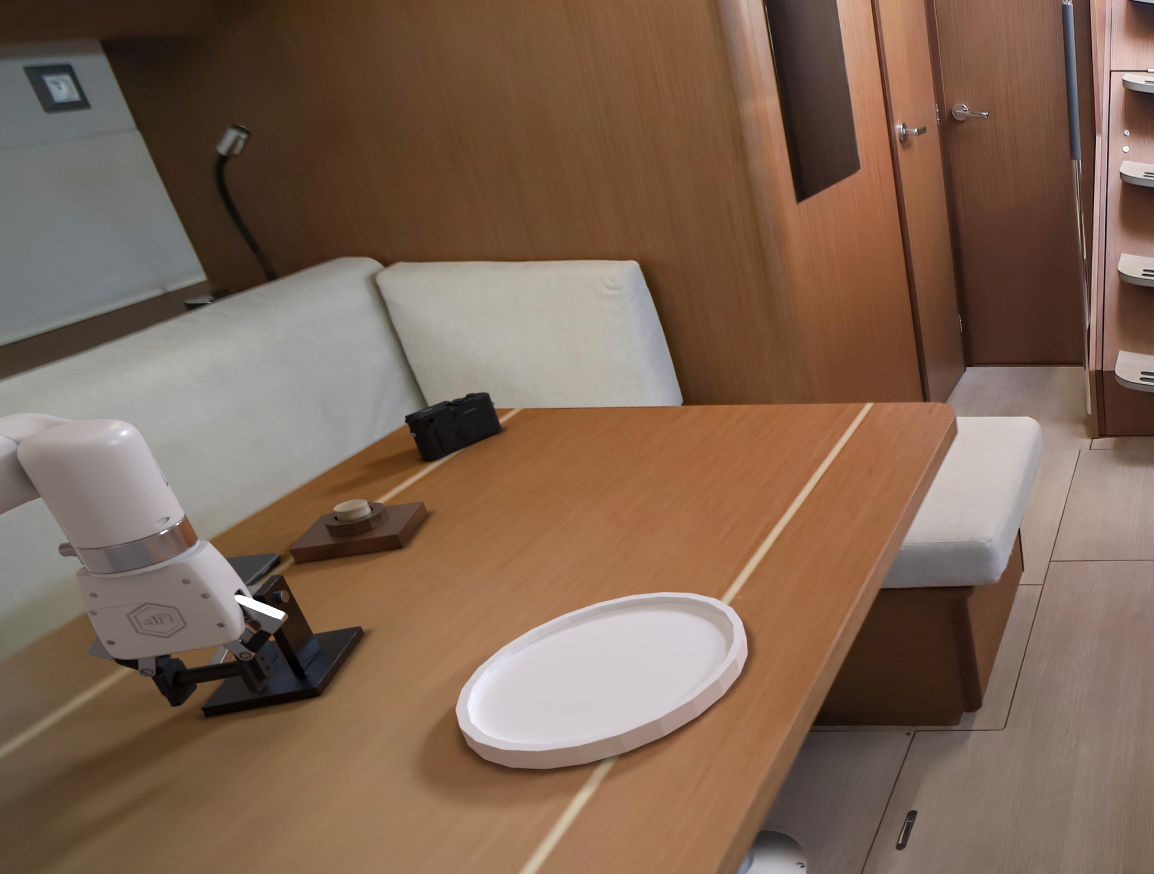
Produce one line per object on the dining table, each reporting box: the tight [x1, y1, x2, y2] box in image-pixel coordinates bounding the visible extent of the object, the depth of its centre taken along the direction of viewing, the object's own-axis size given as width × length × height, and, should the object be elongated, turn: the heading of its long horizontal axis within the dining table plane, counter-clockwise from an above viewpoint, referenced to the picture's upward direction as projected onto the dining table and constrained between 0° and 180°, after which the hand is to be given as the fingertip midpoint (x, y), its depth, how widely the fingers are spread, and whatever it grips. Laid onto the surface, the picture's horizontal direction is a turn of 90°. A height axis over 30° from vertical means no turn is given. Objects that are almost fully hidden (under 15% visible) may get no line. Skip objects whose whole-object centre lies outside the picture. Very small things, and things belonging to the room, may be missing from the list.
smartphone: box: [224, 552, 282, 586], centre depth 124 cm, size 7×1×15 cm
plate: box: [454, 591, 749, 770], centre depth 110 cm, size 28×28×2 cm
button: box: [332, 498, 371, 521], centre depth 134 cm, size 4×4×2 cm
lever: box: [174, 583, 264, 686], centre depth 102 cm, size 12×6×2 cm, turn 21°
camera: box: [404, 391, 503, 461], centre depth 162 cm, size 14×7×8 cm, turn 165°
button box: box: [288, 500, 429, 564], centre depth 135 cm, size 12×10×4 cm
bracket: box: [200, 573, 365, 717], centre depth 108 cm, size 12×10×12 cm
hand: (223, 689), depth 100 cm, fingers closed on lever, 5 cm apart
